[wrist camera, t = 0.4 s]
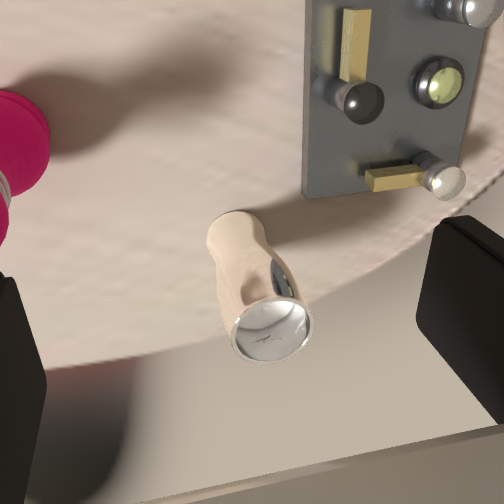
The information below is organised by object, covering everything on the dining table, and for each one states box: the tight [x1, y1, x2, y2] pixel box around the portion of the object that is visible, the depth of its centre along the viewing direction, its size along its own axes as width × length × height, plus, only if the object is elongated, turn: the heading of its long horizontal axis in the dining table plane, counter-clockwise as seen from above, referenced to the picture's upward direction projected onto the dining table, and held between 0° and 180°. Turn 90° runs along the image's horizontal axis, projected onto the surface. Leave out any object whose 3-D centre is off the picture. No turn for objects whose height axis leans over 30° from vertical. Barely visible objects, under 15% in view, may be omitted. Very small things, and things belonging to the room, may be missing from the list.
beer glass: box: [206, 211, 314, 365], centre depth 41 cm, size 7×7×15 cm
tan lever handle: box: [327, 7, 385, 125], centre depth 37 cm, size 8×3×5 cm, turn 2°
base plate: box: [301, 0, 486, 200], centre depth 41 cm, size 20×16×3 cm
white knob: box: [364, 152, 466, 201], centre depth 44 cm, size 8×3×5 cm, turn 92°
